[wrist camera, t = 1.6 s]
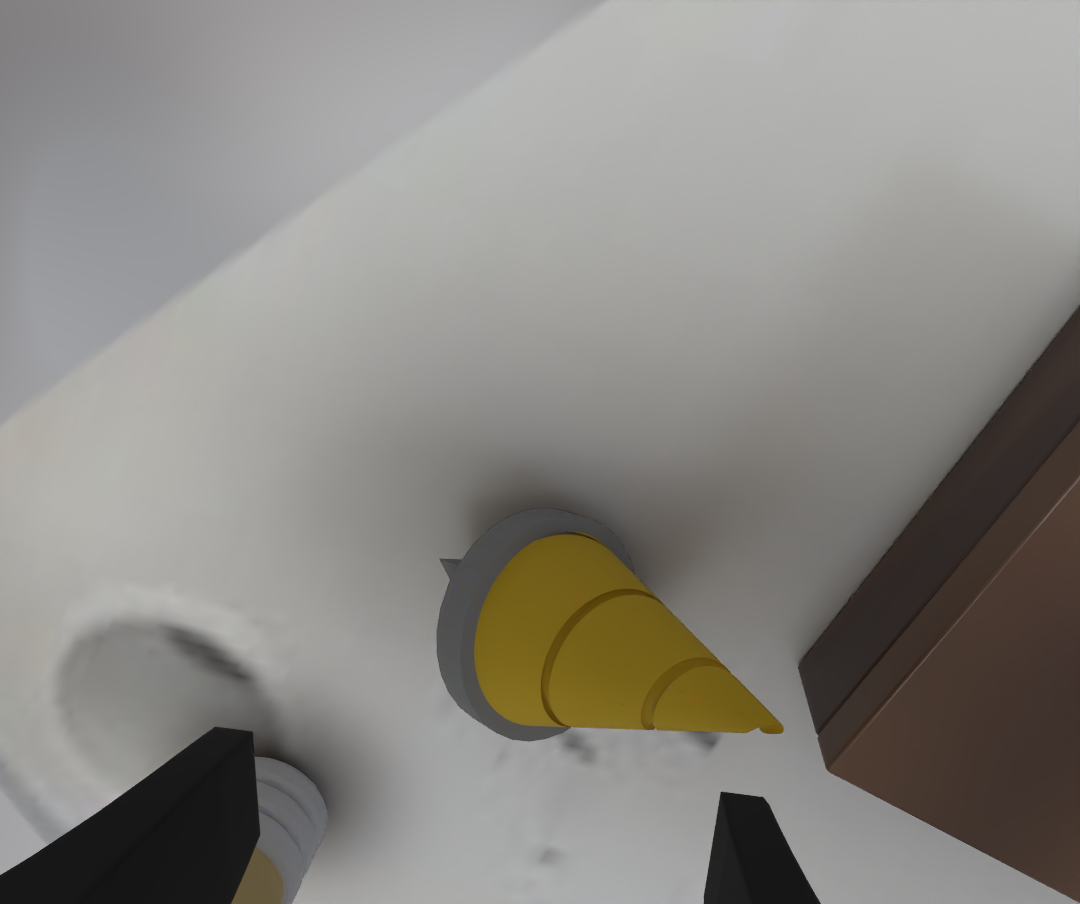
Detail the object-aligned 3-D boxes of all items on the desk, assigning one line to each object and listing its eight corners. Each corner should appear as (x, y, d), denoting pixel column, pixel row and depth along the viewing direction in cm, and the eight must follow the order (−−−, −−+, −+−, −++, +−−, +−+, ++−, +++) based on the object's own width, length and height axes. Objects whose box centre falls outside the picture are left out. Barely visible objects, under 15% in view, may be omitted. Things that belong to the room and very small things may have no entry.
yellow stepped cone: (453, 448, 22) (781, 526, 14) (572, 551, 25) (894, 659, 18) (334, 631, 21) (629, 826, 13) (476, 716, 24) (782, 912, 16)
